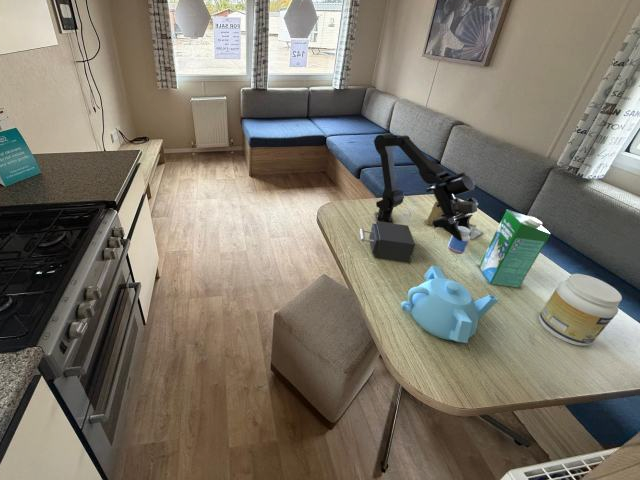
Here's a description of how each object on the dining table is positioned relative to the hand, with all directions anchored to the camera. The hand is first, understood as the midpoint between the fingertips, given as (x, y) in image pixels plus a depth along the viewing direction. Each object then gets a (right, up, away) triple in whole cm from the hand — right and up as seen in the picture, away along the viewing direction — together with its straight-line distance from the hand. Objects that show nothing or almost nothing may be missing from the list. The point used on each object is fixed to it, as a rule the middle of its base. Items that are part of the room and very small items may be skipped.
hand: (464, 238), depth 112 cm
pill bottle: (-1, -5, +4) cm, 7 cm away
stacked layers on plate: (+16, 0, +23) cm, 28 cm away
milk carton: (+10, -13, -2) cm, 17 cm away
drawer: (-28, -5, +9) cm, 30 cm away
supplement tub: (+15, -24, -21) cm, 35 cm away
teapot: (-21, -22, -19) cm, 36 cm away
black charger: (-24, -6, +9) cm, 26 cm away
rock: (+6, +3, +27) cm, 28 cm away
